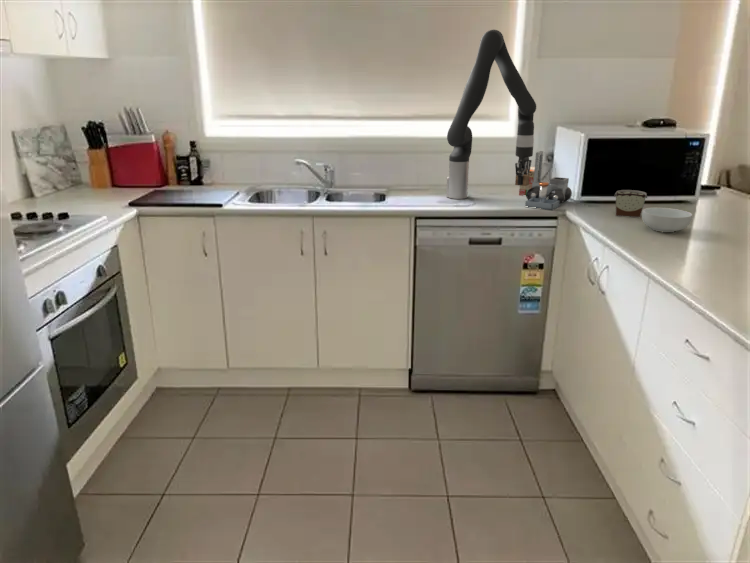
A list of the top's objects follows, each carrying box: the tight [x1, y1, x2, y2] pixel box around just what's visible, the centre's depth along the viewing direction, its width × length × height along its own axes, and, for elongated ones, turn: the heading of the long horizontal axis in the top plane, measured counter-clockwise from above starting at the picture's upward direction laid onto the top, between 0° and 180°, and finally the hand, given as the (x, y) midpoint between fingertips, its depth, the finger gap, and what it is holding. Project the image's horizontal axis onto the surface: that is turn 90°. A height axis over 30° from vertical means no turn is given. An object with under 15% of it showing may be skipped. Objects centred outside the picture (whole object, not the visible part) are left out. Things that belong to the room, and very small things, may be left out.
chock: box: [514, 174, 530, 187], centre depth 264 cm, size 5×4×4 cm
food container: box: [613, 189, 648, 218], centre depth 238 cm, size 12×6×10 cm, turn 71°
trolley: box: [526, 150, 573, 206], centre depth 261 cm, size 17×12×22 cm
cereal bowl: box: [641, 206, 693, 233], centre depth 215 cm, size 17×17×7 cm
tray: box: [524, 198, 561, 211], centre depth 255 cm, size 12×9×3 cm
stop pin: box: [539, 182, 549, 203], centre depth 254 cm, size 4×4×10 cm
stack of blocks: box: [518, 166, 538, 196], centre depth 286 cm, size 21×6×12 cm, turn 159°
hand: (522, 183), depth 264 cm, fingers closed on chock, 4 cm apart
